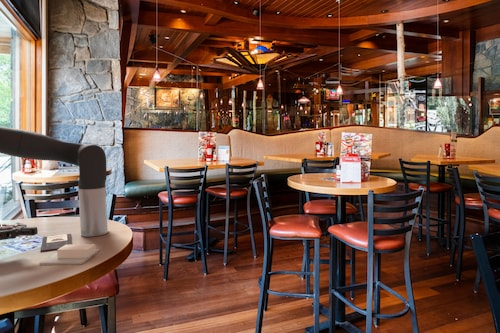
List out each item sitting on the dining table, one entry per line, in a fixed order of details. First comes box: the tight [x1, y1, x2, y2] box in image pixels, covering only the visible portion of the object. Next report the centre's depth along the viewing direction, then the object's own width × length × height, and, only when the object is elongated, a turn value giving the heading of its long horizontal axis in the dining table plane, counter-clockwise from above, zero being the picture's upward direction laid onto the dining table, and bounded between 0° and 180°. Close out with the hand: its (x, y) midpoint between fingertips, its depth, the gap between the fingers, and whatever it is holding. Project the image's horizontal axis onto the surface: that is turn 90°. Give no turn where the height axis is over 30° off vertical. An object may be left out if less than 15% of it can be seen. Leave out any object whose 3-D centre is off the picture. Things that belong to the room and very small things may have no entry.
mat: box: [38, 248, 100, 266], centre depth 109 cm, size 12×12×1 cm
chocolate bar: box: [40, 233, 73, 253], centre depth 125 cm, size 9×1×18 cm
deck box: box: [56, 243, 96, 258], centre depth 109 cm, size 5×3×9 cm
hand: (36, 231), depth 108 cm, fingers closed
